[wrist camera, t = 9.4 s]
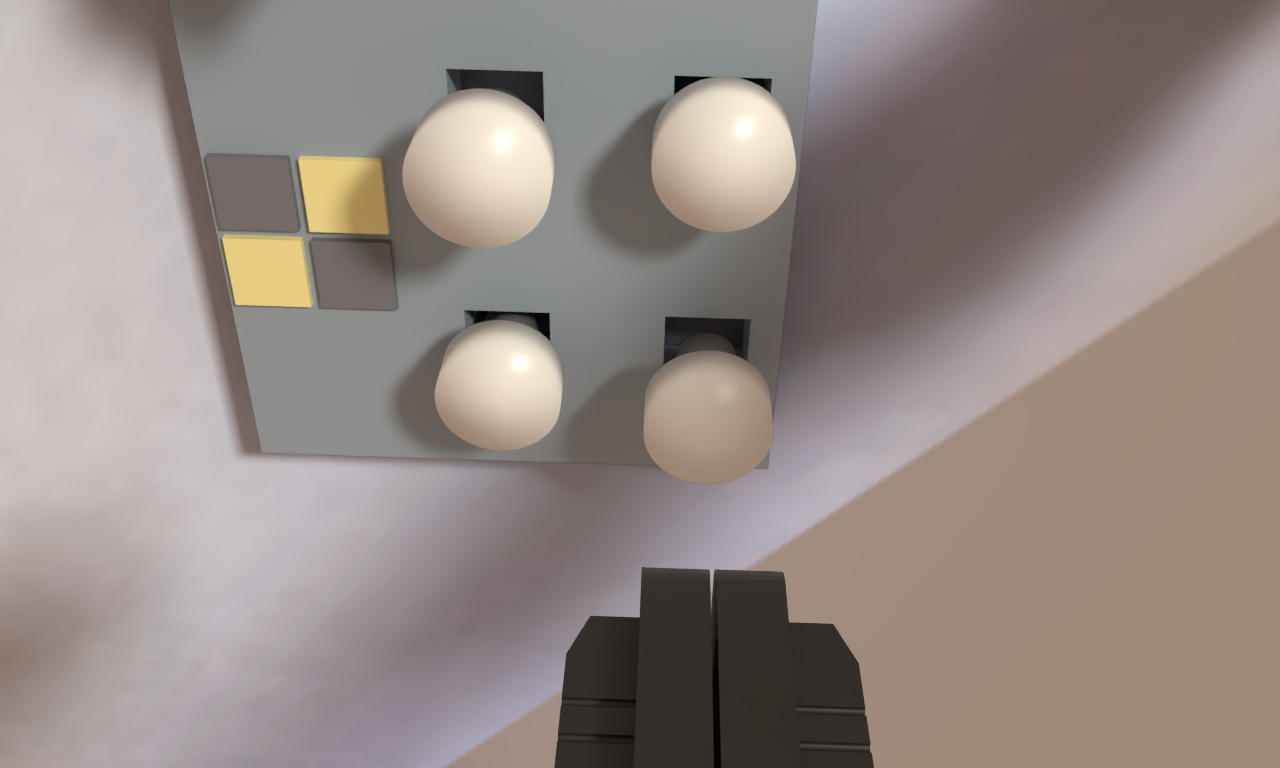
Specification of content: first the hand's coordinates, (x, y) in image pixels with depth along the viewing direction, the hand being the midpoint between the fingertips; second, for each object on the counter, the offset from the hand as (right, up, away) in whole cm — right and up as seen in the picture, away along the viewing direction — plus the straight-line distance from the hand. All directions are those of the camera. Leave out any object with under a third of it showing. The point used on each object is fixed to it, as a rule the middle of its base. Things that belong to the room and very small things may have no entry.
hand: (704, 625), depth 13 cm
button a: (+2, +13, +32) cm, 34 cm away
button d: (-6, +5, +38) cm, 38 cm away
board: (-6, +10, +36) cm, 38 cm away
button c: (-6, +12, +31) cm, 33 cm away
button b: (+2, +4, +36) cm, 36 cm away
